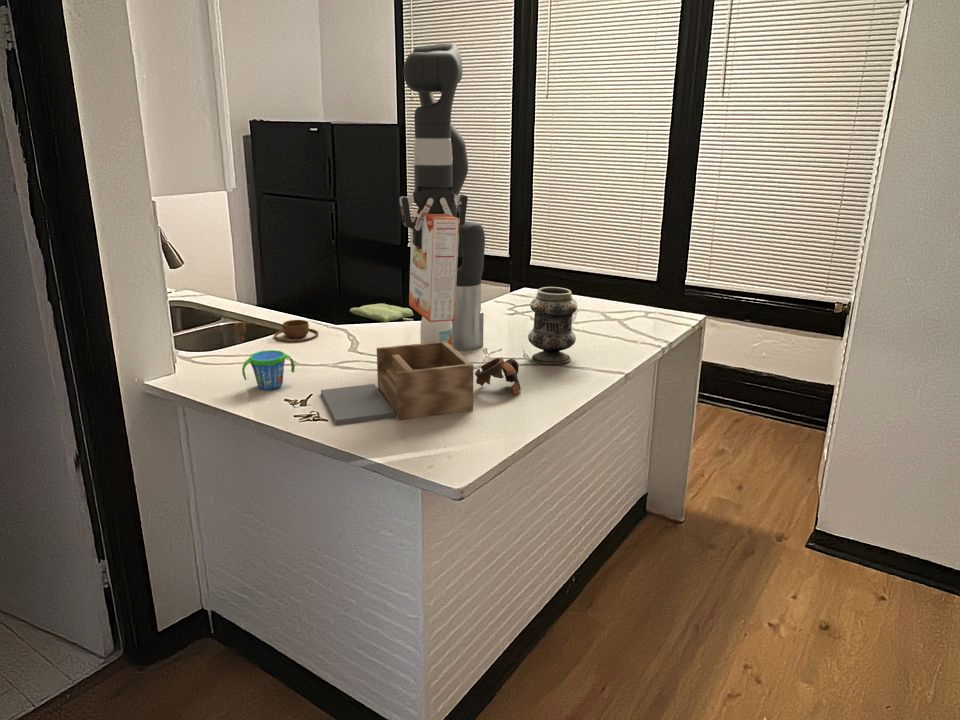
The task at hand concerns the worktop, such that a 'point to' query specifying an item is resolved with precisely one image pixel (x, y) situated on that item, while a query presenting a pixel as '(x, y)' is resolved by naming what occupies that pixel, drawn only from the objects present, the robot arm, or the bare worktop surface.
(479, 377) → the brown jagged arch
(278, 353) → the snack cup
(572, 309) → the apothecary jar
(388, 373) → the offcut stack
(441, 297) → the cracker box
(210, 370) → the worktop surface
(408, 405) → the wooden box
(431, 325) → the milk bottle
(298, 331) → the place setting
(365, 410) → the mat
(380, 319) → the washcloth
